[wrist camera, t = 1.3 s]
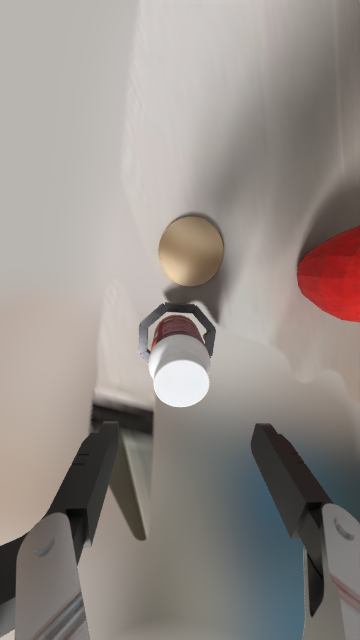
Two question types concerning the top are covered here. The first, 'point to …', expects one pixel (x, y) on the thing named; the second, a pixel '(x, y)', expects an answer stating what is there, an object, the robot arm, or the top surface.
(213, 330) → the ring stand
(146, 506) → the top surface
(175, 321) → the pill bottle
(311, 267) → the apple
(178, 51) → the top surface
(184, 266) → the cork coaster
